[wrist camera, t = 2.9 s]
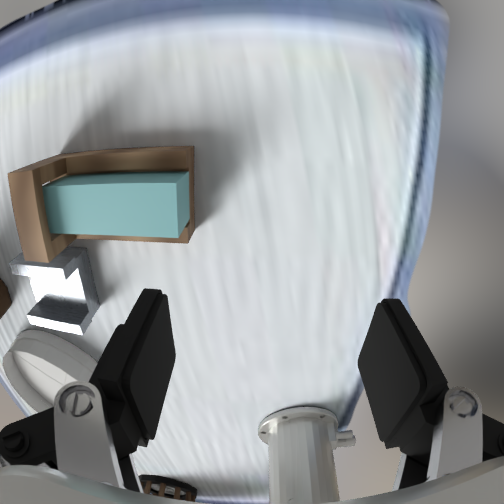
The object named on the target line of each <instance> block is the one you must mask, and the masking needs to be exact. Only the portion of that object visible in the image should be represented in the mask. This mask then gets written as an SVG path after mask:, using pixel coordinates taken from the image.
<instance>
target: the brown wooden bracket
mask: <svg viewBox="0 0 504 504" xmlns="http://www.w3.org/2000/svg"><path fill="white" fill-rule="evenodd" d="M152 171H189V210H190V219H189V221H188V222H187V224H186V226H185V228H184V229H183V231H182V233H181V234H180V236H179V238H166V237H141V236H116V235H88V234H58V233H50V232H49V227H48V221H47V216H46V210H45V204H44V197H43V190H42V184H44V183H46V182H49V181H50V182H52V181H54V180H56V179H58V178H61V177H63V176H65V175H79V174H95V173H116V172H152ZM8 180H9V187H10V194H11V200H12V206H13V211H14V216H15V221H16V226H17V231H18V235H19V239H20V243H21V247H22V251H23V255H24V259H25V261H35V262H45V263H49V262H51V261H52V260H53V259H54V258H55V257H56V256H57V255H58V254H59V253H60V252H62V251H63V250H64V249H65V248H66V247H67V246H68V245H69V244H71V243H72V242H73V241H74V240H75V239H98V240H122V241H144V242H166V243H189V240H190V238H191V236H192V234H193V232H194V230H195V219H194V146H169V147H140V148H122V149H108V150H96V151H85V152H76V153H67V154H59V155H56V156H53V157H50V158H47V159H44V160H42V161H39V162H36V163H33V164H31V165H28V166H25V167H23V168H20V169H18V170H15V171H13V172H10V173H8Z"/></svg>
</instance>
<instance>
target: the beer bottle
mask: <svg viewBox="0 0 504 504" xmlns="http://www.w3.org/2000/svg"><path fill="white" fill-rule="evenodd" d="M10 306H11V299H10V296H9V292H8V288H7V286H6V285H5V284H4V282H3V281H2V280H1V279H0V319H1V318H2V317H3V315H4V314H5V313H6V311H7V310H8V308H9V307H10Z"/></svg>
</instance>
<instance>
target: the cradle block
mask: <svg viewBox="0 0 504 504" xmlns="http://www.w3.org/2000/svg"><path fill="white" fill-rule="evenodd" d="M9 265H10V269H11V272H12V274H15V275H22V276H29V280H30V283H31V286H32V289H33V292H34V295H35V298H36V301H37V304H36V305H35V306H34V307H33V308H32V309H31V311H30V312H29V313H28V314H27V317H28V319H29V321H30V324H33V325H38V326H42V327H46V328H50V329H55V330H60V331H64V332H69V333H74V334H79V335H83V334H84V333H85V331H86V329H87V328H88V326H89V325H90V323H91V322H92V320H91V319H92V318H93V316H94V315H95V313H96V312H97V310H98V309H99V307H100V304H99V301H98V297H97V293H96V289H95V284H94V280H93V276H92V271H91V267H90V262H89V257H88V252H87V248H77V247H66V248H65V249H64V250H63V251H62V252H60V253H59V254H58V255H57V256H56V257H55V258H54V259H53V260H52V261H51V262H49V263H45V262H35V261H25V259H24V255H23V253H21V254H19V255H18V256H17V257H16V258H14V259H13V260H12V261H11V262H10V263H9Z"/></svg>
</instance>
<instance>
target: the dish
mask: <svg viewBox="0 0 504 504" xmlns="http://www.w3.org/2000/svg"><path fill="white" fill-rule="evenodd" d="M97 364H98V362H96V361H95V360H94V359H93V358H92V357H91V356H89V355H88V354H87V353H85V352H84V351H82V350H81V349H79V348H78V347H76V346H75V345H74V344H72V343H70V342H68V341H66V340H64V339H62V338H60V337H58V336H56V335H53V334H50V333H47V332H44V331H41V330H31V329H30V330H26V331H23V332H21V333H20V334H19V335H18V337H17V338H16V339H15V340H14V342H13V343H12V344H11V347H10V349H9V351H8V352H7V353H6V354H5V356H4V357H3V367H4V371H5V374H6V376H7V378H8V380H9V381H10V383H11V385H12V386H13V388H14V389H15V390H16V391H17V393H18V394H19V395H20V396H21V397H22V398H23V399H24V400H25V401H26V402H27V403H28V404H29V405H30V406H31V407H32V408H33V409H34V410H36V411H37V412H38V413H39V412H42V411H44V410H47V409H49V408H51V407H54V399H55V396H56V394H57V392H58V391H59V390H60V389H61V388H62V387H63V386H64V385H66V384H68V383H70V382H74V381H85V382H89V380H90V378H91V376H92V374H93V371H94V370H95V368H96V366H97ZM41 400H42V401H41Z"/></svg>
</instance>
